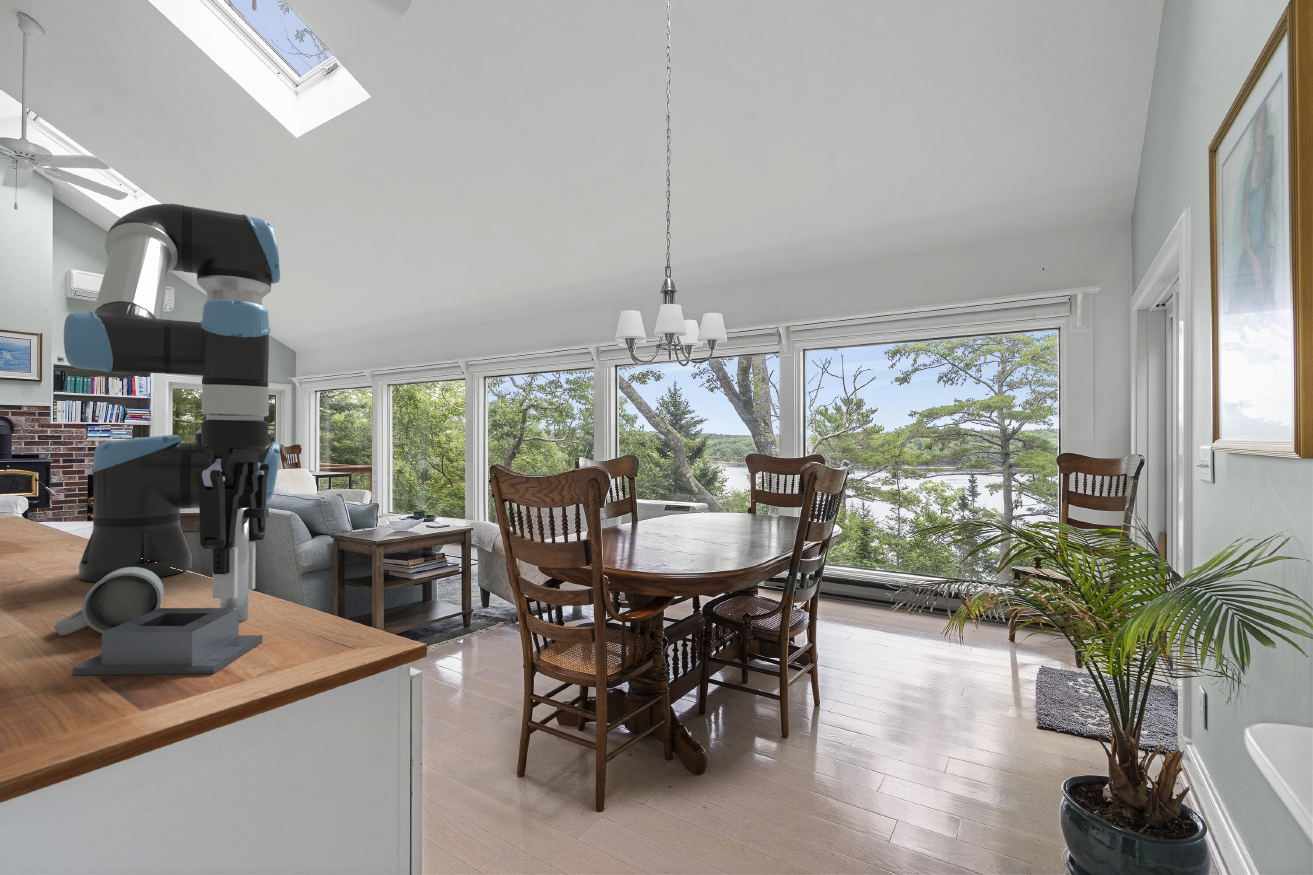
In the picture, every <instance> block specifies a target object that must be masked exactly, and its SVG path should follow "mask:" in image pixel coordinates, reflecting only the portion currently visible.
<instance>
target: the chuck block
mask: <svg viewBox="0 0 1313 875" xmlns="http://www.w3.org/2000/svg"><path fill="white" fill-rule="evenodd" d="M239 623H240V622H239V608H220V607H160V608H158V609H156V610H154V611H151V612H149V613H147V614H144V615H142V616H140V617H137V618H135V619H133V620H130V621H128V622H126V623H123V624H121V625H119V626H116V627H114V628H112V629H109V630H107V631H105V632H102V633H101V654H98V655H96V656H94V657H92V658H90V659H88V660H86V661H84V662H81V663H79V664H77V665H75V666H73V667H72V669H71V670H72V676H121V675H123V676H124V675H126V676H127V675H130V676H131V675H134V676H135V675H139V676H140V675H210V674H211V675H213V674H214V675H215V674H216V673H217V672H218V671H220V670H222V669H223V668H224V667H227V666H229V665H230V664H231V663H233V662H234V661H236V660H237V659H239V658H240V657H242V656H243V655H245V654H246V653H248V652H249V651H251V650H252V649H255V647H256V646H257V647H258V645H260V644H261V643H263V634H262V635H260V634H257V635H256V634H255V635H254V634H251V635H249V634H248V635H247V634H245V635H239V632H240V630H239V628H240V627H239V626H240V625H239Z"/></svg>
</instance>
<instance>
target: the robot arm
mask: <svg viewBox="0 0 1313 875" xmlns="http://www.w3.org/2000/svg"><path fill="white" fill-rule="evenodd" d="M104 249H105V253H106V255H107V257H108V260H107V263H106V267H105V271H104V273H103V277H102V280H101V284H100V287H99V291H98V294H97V297H96V301H95V304H94V309H93V311H88V312H78V311H77V312H72V313H69V314H68V315H67V316H66V317H65V320H64V326H63V347H64V354H65V359H66V361H67V363H68V364H69V365H70V366H71V367H73V368H75V369H79V370H91V371H102V372H104V373H110V372H115V373H119V372H120V373H145V374H167V375H183V376H199V377H200V376H201V377H202V378H201V393H200V394H199V396H200V397H199V398H200V399H201V414H203V415H204V416H205V419H203V420H202V422H201V423H200V424H201V426H200V428H199V429H198V430H197V431H196V432H195V442H182V438H181V437H180V435H178V434H170V435H169V434H167V435H155V436H154V435H153V436H146V437H136V438H128V439H127V438H125V439H117V440H110V441H105V442H102V443H100V444H98V445H97V446H96V447H95V450H94V452H93V464H92V465H93V466H92V469H91V473H93V474H92V485H93V488H92V489H93V495H92V496H93V500H92V502H93V505H92V507H93V508H92V510H93V511H92V518H93V519H92V521H93V522H92V532H91V535H90V537H89V540H88V542H87V544H86V547H85V550H84V552H83V554H82V557H81V560H80V562H79V565H78V578H79V580H81V581H84V582H95V583H97V582H99V581H100V580H101V579H103V578H104V577H105V576H107V575H108V574H109V573H112V572H114V571H116V570H118V569H122V568H127V567H139V568H144V569H147V570H149V571H151V572H153V573H154V574H156V575H157V576H158V577H159V578H163V577H169V576H172V575H176V574H179V573H183V572H186V571H188V570H190V569H191V568H192V566H193V556H192V552H191V550H190V547H189V544H188V542H187V539H186V537H185V534H184V532H183V530H182V527H181V520H180V519H181V510H184V509H185V510H186V509H199V537H200V538H199V539H200V540H199V541H200V546H201V547H202V548H203V549H204V550H212V592H211V593H212V599H220V598H236V597H238V548H233V545H234V537H235V528H236V518H237V509H238V507H249V508H267V503H268V502H269V501H270V500H271V499H272V497H273V495H274V492H275V486H276V483H277V482H276V481H277V476H278V471H279V470H278V469H279V462H280V451H281V444H279V443H278V442H276V441H272V437H271V436H272V433H271V432H270V430H269V423H268V422H267V421H268V420H264V419H265V418H264V417H268V416H269V413H270V411H269V410H270V405H269V404H270V402H269V401H270V400H269V396H270V392H269V361H270V360H269V358H270V333H271V328H270V320H269V317H270V316H269V310H268V309H267V308H266V307H265V306H263V298H264V297H266V296H267V295H269V294H270V293H271V292H272V284H274V285H275V284H277V283H279V282H280V280H281V266H280V255H279V248H278V241H277V236H276V233H275V230H274V226H273V225H272V224H271V223H270V222H269V221H268V220H266V219H263V218H258V217H253V216H249V215H247V214H238V213H232V212H231V213H230V212H226V211H225V212H224V211H219V210H212V209H207V208H200V207H195V206H189V205H184V204H178V203H159V204H150V205H147V206H144V207H140V208H137V209H134V210H133V211H131V212H128V213H126V214H125V215H123V216H122V217H120V218H118V220H116V221H115V222H114V223H113V224H112V225H111V227H110V228H109V230H108V232H107V234H106V238H105V241H104ZM172 271H173V272H174V271H175V272H184V273H190V274H191V273H192V274H196V283H197V285H198V286H199V287H200V288H201V289H203V291H204V292H205V293H206V302H204V303H203V305H202V313H201V314H202V315H201V321H200V322H198V321H185V320H174V319H164V318H163V315H164V314H163V312H164V307H165V306H164V305H165V299H166V292H167V285H168V284H167V283H168V277H169V276H168V275H169V274H170V273H171V272H172ZM266 518H267V517H266ZM266 518H249V590H254V589H256V553H257V552H256V546H257V545H256V542H257V541H263V540H264V539H265V534H264V533H265V531H266V520H267V519H266ZM141 558H143V559H141ZM148 560H149V561H148ZM155 562H157V563H155ZM170 567H173V568H176V569H172V568H170ZM177 569H180V570H183V571H180V570H177Z"/></svg>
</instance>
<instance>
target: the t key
mask: <svg viewBox="0 0 1313 875" xmlns="http://www.w3.org/2000/svg"><path fill="white" fill-rule="evenodd" d="M269 511H270V509H269V507H266V508H249V507H238V509H237V518H236V528H235V537H234V545H233V548H238V597H236V598H219V604H220V605H219V608H239V623H240V622H241V623H242V622H244V621H247V620H249V598H250V597H249V590H250V589H249V518H269V517H270V516H269Z"/></svg>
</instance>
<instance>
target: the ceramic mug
mask: <svg viewBox="0 0 1313 875" xmlns="http://www.w3.org/2000/svg"><path fill="white" fill-rule="evenodd" d="M164 594H165V590H164V585H163V582H162V580H161V579H160V577H158V576H157V575H156V574H154V573H153V572H151V571H149V570H147V569H144V568H139V567H127V568H122V569H118V570H116V571H114V572H112V573H109V574H108V575H107V576H105V577H104V578H103V579H101V580H100V581H99V582H95V584H94V585H93V586H92V587H90V588H89V590H88V592H87V593H86V594H85V597H84V599H83V602H82V605H81V609H80V610H78V611H76V612H73V613H72V614H70V615H68V616H66V617H64V618H62V619H61V620H59V621H58V622H56V623H55V624H53V625H54V626H53V628H54V629H55V631H56V632H57V634H58V635H59V636H60V637H61V636H62V637H63V636H67V635H69V634H72V633H74V632H75V633H76V632H77V631H80V630H82V629H84V628H86V627H89V628H91V629H93V630H94V631H96V632H97V633H100V634H102V632H105V631H107V630H109V629H112V628H114V627H116V626H119V625H121V624H123V623H126V622H128V621H130V620H133V619H135V618H137V617H140V616H142V615H144V614H147V613H149V612H151V611H154V610H156V609H158V608H161V604H162V601H163V598H164Z"/></svg>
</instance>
